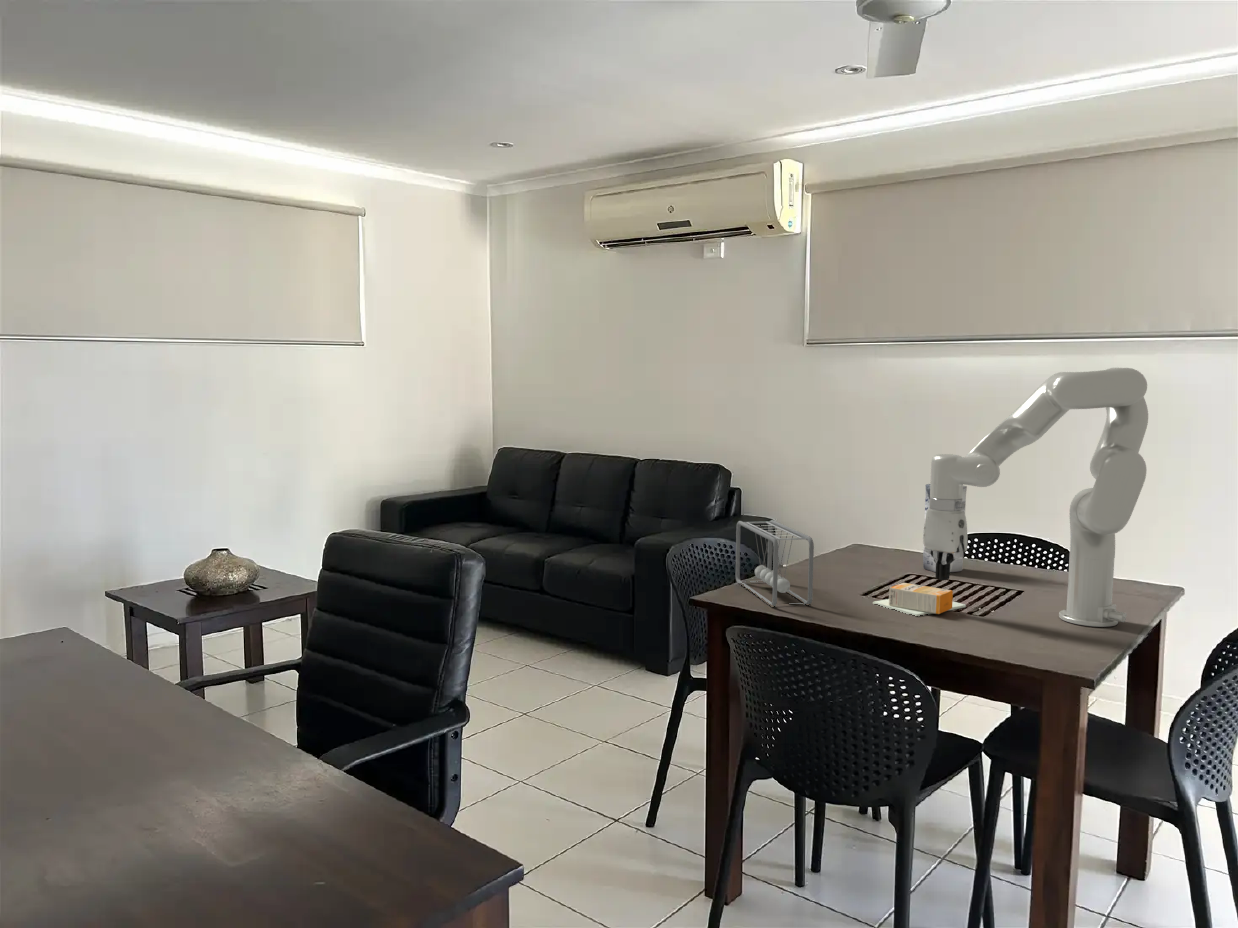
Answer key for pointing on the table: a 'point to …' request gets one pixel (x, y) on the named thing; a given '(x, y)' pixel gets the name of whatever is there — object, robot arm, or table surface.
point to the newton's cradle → (774, 560)
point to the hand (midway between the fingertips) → (942, 578)
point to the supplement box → (920, 598)
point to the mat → (910, 611)
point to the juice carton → (927, 558)
